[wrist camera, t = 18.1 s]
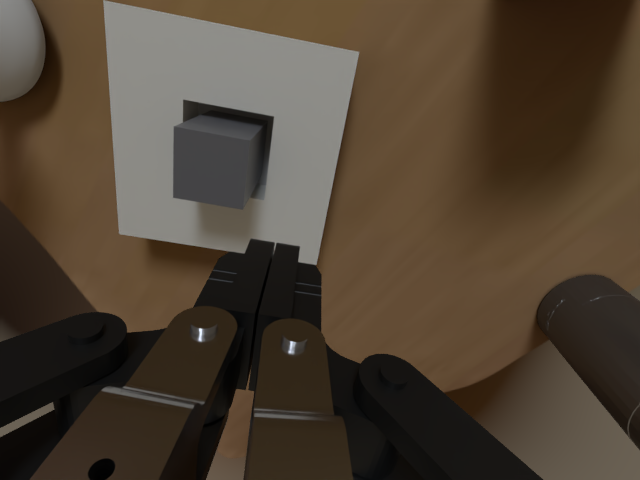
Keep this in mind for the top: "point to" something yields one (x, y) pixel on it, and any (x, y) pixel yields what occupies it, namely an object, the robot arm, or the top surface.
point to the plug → (218, 158)
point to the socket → (229, 97)
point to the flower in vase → (20, 48)
